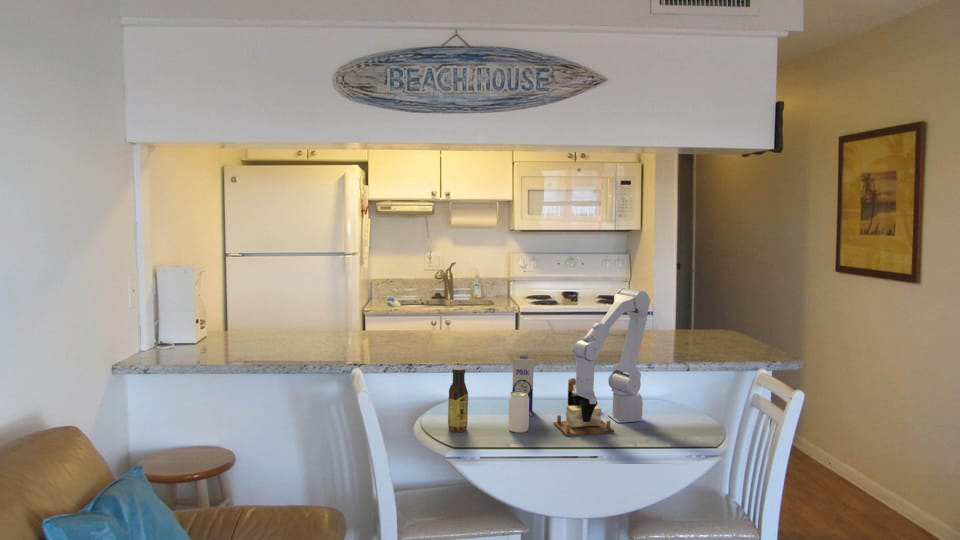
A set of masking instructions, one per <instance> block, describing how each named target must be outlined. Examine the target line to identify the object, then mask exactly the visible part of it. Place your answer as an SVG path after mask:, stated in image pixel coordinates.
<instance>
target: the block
mask: <svg viewBox="0 0 960 540" xmlns="http://www.w3.org/2000/svg"><path fill="white" fill-rule="evenodd" d="M601 420H602V408H601V407H600V406H598V404H597V405H596V407H595V408H594V410H593V413H592V416H591V420H590V422H583V417H582V408H581V405H576V406H568V405H566V420H565V421H566V423H567V424H570V426H571V427H582V426H595V425H601Z"/></svg>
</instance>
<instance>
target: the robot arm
mask: <svg viewBox="0 0 960 540" xmlns="http://www.w3.org/2000/svg"><path fill="white" fill-rule="evenodd" d="M650 304H651V298H650V296H649V294H648V293H647V292H646V291H644V290H635V289H629V288H625V287H622V288H620V289H619V290H617V293H616V294H615V295H614V297H613V302H612V305H611V306H610V308H609V309H608V311H607V312H606V314H605V315H604V317H603V318H602V319H601V321H600V322H595V323H594V324H592V326H591V328H590V329H589V330H588V332H587V333H586V334H585V336H584V337H583V338H582V339H580V340H578V341H576V342H575V344H574V346H573V348H572V353H573V356H574V361H575V362H576V363H575V364H576V366H575V379H576V385H573V391H572V395H571V396H572V398H573V401H574V403H575V406H576V405H581V408H582V417H583V422H590V420H591V416H592V413H593V410H594V408H595V407H596V405H597V406H598V401H597V399H598V398H597V396H596V395H595V391H594V389H595V387H594V385H595V360H596V359H597V358H598V357H599V354H600V350H601V348H602V347H601V346H602V345H603V343H605V341H606V339H607V338H608V337H609V336H610V334H611V331H610V329H611V327H613V326H614V324H615V323H616V322H617V321H618V320H619V319H620V317H621V316H623V314H624V313H626V314H627V315H628V317H629V321H628V326H627V330H626V334H625V339H624V344H623V347H622V351H621V356H620V360H619V363H617V364H615V365H614V366H613V367H612V371H611V373H610V375H608V380H607V381H608V385H609V387H610V388H611V392H612V413H607V416H608V417H609V418H610V419H611V420H613V421H614V422H616V423H619V424H620V423H621V424H622V423H632V422H633V423H634V422H643V421H644V419H643V402H644V401H643V397H642V394H641V393H639V391H640V389H641V387H642V386H641V385H642V384H641V378H642V373H641V372H640V371H639V369H638V367H637V363H638V360H639V354H640V351H641V347H642V342H643V336H644V332H645V329H646V325H647V323H646V322H647V320H648V313H649V308H650Z"/></svg>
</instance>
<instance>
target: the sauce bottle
mask: <svg viewBox="0 0 960 540" xmlns="http://www.w3.org/2000/svg"><path fill="white" fill-rule="evenodd" d="M451 372H452V383H451V385H450V386H449V389H448V407H447V409H448V411H447V425H448V426H447V427H448V430H449V431H451V432H453V433H460V432H461V433H462V432H465V431H467V428H468V416H469V413H468V410H469V392H468V389H467V386H466V382H465V375H466V368H465V367H462V366H459V367H458V366H455V367H452V371H451Z"/></svg>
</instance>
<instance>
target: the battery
mask: <svg viewBox="0 0 960 540" xmlns="http://www.w3.org/2000/svg"><path fill="white" fill-rule="evenodd" d="M573 385H576V377H575V378H574V377H572V378H570V379H568V381H567V406H575V403H574V401H573V398H572V396H571V395H572V391H573Z"/></svg>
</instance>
